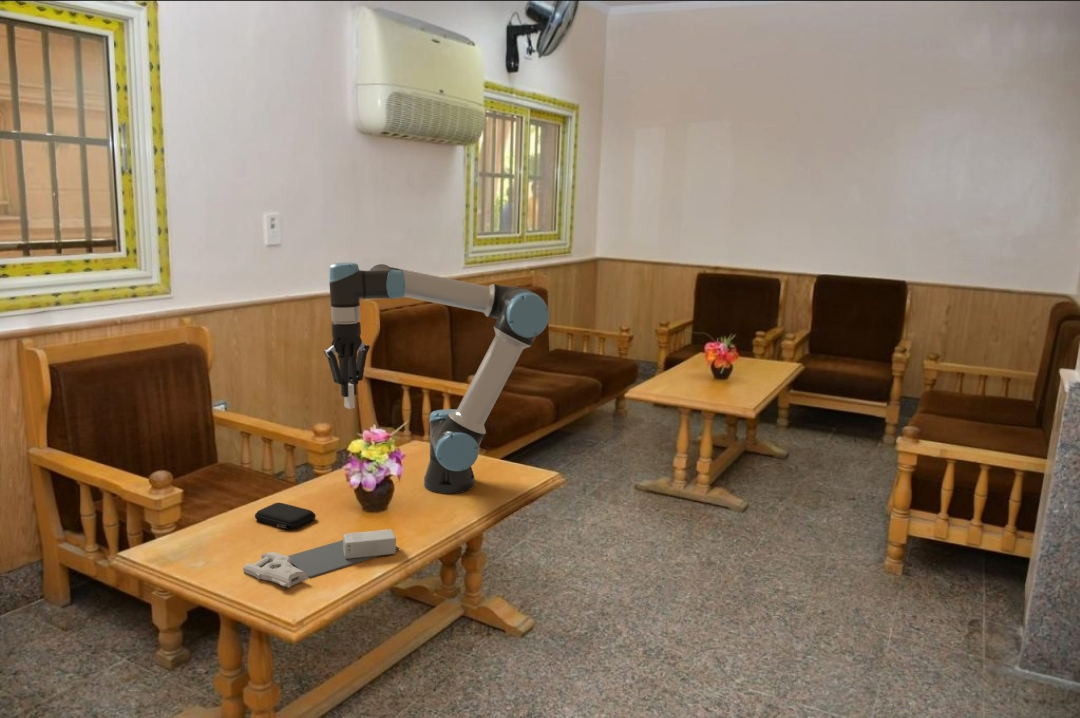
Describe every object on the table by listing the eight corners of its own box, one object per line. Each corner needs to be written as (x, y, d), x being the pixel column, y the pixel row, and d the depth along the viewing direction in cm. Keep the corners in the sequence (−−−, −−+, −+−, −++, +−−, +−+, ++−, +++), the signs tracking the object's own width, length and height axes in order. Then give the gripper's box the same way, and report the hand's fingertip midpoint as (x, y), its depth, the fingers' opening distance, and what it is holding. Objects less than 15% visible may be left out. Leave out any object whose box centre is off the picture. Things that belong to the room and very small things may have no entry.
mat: (372, 532, 216) (372, 531, 216) (399, 549, 207) (399, 548, 207) (284, 558, 200) (284, 556, 200) (309, 578, 191) (309, 576, 191)
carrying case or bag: (248, 523, 221) (290, 535, 215) (247, 512, 221) (289, 523, 214) (277, 509, 231) (319, 520, 224) (277, 499, 230) (318, 510, 223)
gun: (320, 563, 191) (284, 579, 183) (321, 577, 192) (285, 594, 184) (269, 546, 201) (233, 561, 193) (271, 559, 202) (235, 575, 194)
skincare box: (344, 559, 200) (395, 555, 203) (345, 542, 199) (396, 538, 202) (342, 549, 205) (392, 545, 209) (342, 531, 204) (392, 528, 208)
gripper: (359, 317, 229) (362, 400, 234) (316, 322, 220) (320, 409, 225) (374, 320, 224) (377, 406, 229) (331, 326, 215) (335, 414, 220)
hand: (349, 407), depth 227 cm, fingers closed
